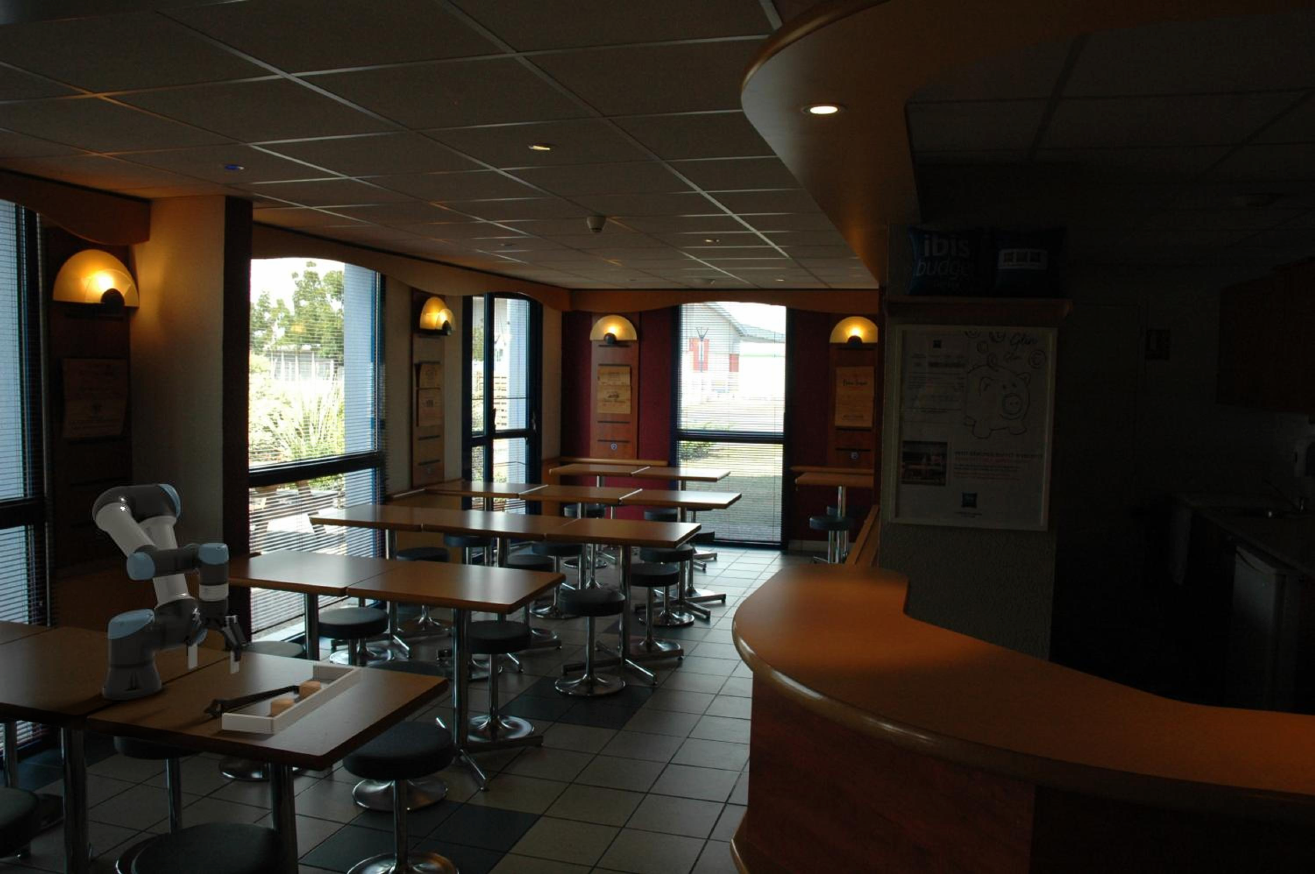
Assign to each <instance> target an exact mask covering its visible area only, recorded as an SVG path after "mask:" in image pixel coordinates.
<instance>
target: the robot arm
mask: <svg viewBox="0 0 1315 874" xmlns="http://www.w3.org/2000/svg"><path fill="white" fill-rule="evenodd" d="M180 500H181V499H180V496H179V494H178V493H177V491H176V489H175V488H174V487H173V486H171V485H170V484H166V483H152V484H140V485H127V486H126V485H125V486H124V485H122V486H116V487H111V488H110V489H107V490H106V491H104V492H103V493H102V494H100V495H99V497H98V498H97V499H96V500H95V502H94V504H93V507H92V511H91V512H92V519H93V521H94V522H95V524H96V526H97V527H98V528H99V529H100V530H102V531H104V532H107V533H108V535H110V537H111V539H113V541H114V543H116V544H117V546H118V547H119V548H120V549H121V551H122V552H123V553H124V555H125V557H127V560H126V572H127V573H128V577H129V578H130V579H132V580H134V581H138V580H150V579H152V582H153V586H154V589H155V594H156V599H157V602H158V603H157V605H156V606H155V607H154V609H153V610H152V609H149V608H145V609H144V608H143V609H134V610H130V611H126V612H123V613H120V614H118V615H116V616H114V617H112V618H111V620H110V621H109V623H108V630H107V631H108V632H107V639H108V641H107V642H108V644H107V645H108V671H107V673H106V676H105V680H104V683H103V686H102V691H101V692H102V694H101V695H103V696H102V698H104V699H107V700H111V701H127V700H135V699H140V698H145V697H149V696H151V695H152V696H153V695H154V694H156V693H158V692H160V690H161V689H162V679H161V677H160V676H159V672H158V670H157V666H156V664H155V654H156V653H161V652H165V651H169V650H170V651H171V650H175V649H181V648H185V649H186V653H185V655H186V657H188V658H187V659H188V661H187V663H188V667H187V668H188V670H192V669H195V668H196V667H198V644H200V643H202V642H203V641H204V639H205V638H206V636H207V632H208V631H215V632H216V631H218V633H219V634H221V635H222V637H223V638H224V639H225V640H226V643H227V644H228V645H229V646H230V647H231V649H232V650H230V674H232V675H233V674H236V673H238V672H239V671H240V661H241V660H242V650H244V649H246V648H248V646H249V644H248V642H247V639H246V638H245V635H244V633H243V631H242V628H241V625H240V624H239V618H238V615H237V614H234V615H232V616H231V615H228V610H229V598H228V596H229V558H230V557H229V548H228V545H227V544H226V543H222V542H221V543H220V542H208V543H203V544H200V543H188V544H186V545H185V546H183V547H178V544H177V540H176V536H175V535H176V534H175V530H174V527H173V526H174V525H175V524H176V523H177V518H178V517H179V516H180V514H181V501H180ZM191 573H198V587H199V588H198V590H199V591H198V597H199V600H198V603H197V599H196V597H193V596H191V595H190V593H189V590H188V584H187V581H186V577H185V574H191Z"/></svg>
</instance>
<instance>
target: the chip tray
mask: <svg viewBox="0 0 1315 874" xmlns="http://www.w3.org/2000/svg"><path fill="white" fill-rule="evenodd" d="M361 671H362V669H361V667H353V666H342V665H341V666H340V665H329V664H328V665H327V664H315V663H314V664H312V678H313V679H322V680H334V681H332V682H331V683H329V684H327V685H326V686H324V687H323V688H322V687H321V690H319V691H317V692H316V693H314V694H312V695H311V696H309V697H307V698H306V699H301V700H300V701H299V702H297V703H295V704H294V706H292V707H291V708H289V709H287V710H285V711H284V712H282V713H280V714H279V715H277V716H275V717H271V716H260V715H251V714H250V715H249V714H239V713H229V712H226V713H224V714H222V716H221V730H225V731H228V730H229V731H234V732H235V731H237V732H247V733H255V734H256V733H257V734H263V735H264V734H267V735H277V734H278V733H280V732H282V731H283V730H285V729H286V728H288V727H289V726H291V725H293V724H294V723H296V722H297V721H299V720H300V719H302V718H304V717H305V716H307V715H308V714H310V713H312V712H314V711H315V710H316V709H318V708H319V707H321V706H323V705H325V704H326V703H327V701H328V702H329V701H331V700H333V699H334V698H335V697H337V696H339V695H340V694H342V693H343V692H345V691H347V690H349V689H350V688H351V687H353V686H355V685H356V684H358V683H359V682H361V681H362V675H361V674H362V672H361ZM311 711H312V712H311Z"/></svg>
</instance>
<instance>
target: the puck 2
mask: <svg viewBox="0 0 1315 874" xmlns="http://www.w3.org/2000/svg"><path fill="white" fill-rule="evenodd" d="M298 686H299V693H298V695H299V697H300V698H301V700H304V699H306V698H307V697H309V696H311V695H312V694H314V693H316V692H317V691H319V690H321V689H322V683H321V682H320V681H315V680H311V681H305V682H301V683H300V684H299V685H298ZM299 697H298V698H299ZM300 698H299V699H300Z"/></svg>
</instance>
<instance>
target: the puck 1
mask: <svg viewBox="0 0 1315 874" xmlns="http://www.w3.org/2000/svg"><path fill="white" fill-rule="evenodd" d="M294 701H295V700H294V699H292V698H287V697H285V698H284V697H282V698H278V699H274V700H271V702H270V717H272V718H274V717H275V716H277V715H279V714H280V713H282V712H284V711H285V710H287V709H289V708H291V707H292V706H294V705H295V702H294Z"/></svg>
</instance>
